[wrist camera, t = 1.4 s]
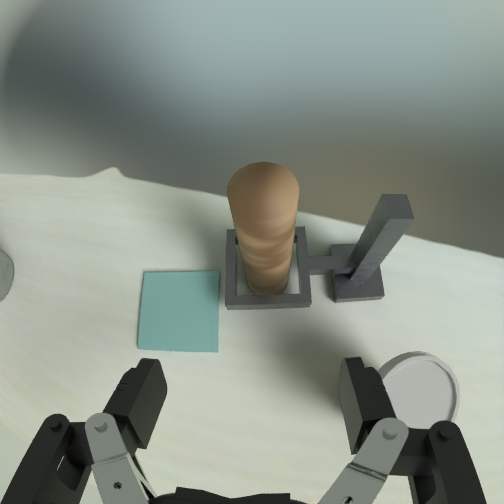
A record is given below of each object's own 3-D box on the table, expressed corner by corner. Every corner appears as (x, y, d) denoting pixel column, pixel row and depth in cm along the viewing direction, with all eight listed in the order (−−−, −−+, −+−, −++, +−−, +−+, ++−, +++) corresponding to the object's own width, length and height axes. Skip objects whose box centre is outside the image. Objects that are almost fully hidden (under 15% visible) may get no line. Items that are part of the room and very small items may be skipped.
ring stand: (230, 314, 35) (202, 265, 21) (231, 246, 39) (209, 167, 25) (381, 306, 34) (441, 255, 20) (370, 241, 38) (413, 166, 24)
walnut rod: (247, 298, 36) (225, 221, 20) (247, 260, 38) (228, 164, 22) (289, 297, 36) (302, 218, 19) (287, 258, 38) (295, 161, 21)
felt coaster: (139, 348, 34) (137, 348, 33) (145, 273, 38) (144, 272, 38) (217, 352, 33) (217, 351, 33) (219, 272, 38) (218, 270, 37)
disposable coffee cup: (322, 429, 29) (348, 451, 18) (349, 353, 32) (386, 337, 21) (394, 444, 27) (444, 464, 16) (417, 371, 30) (473, 361, 19)
